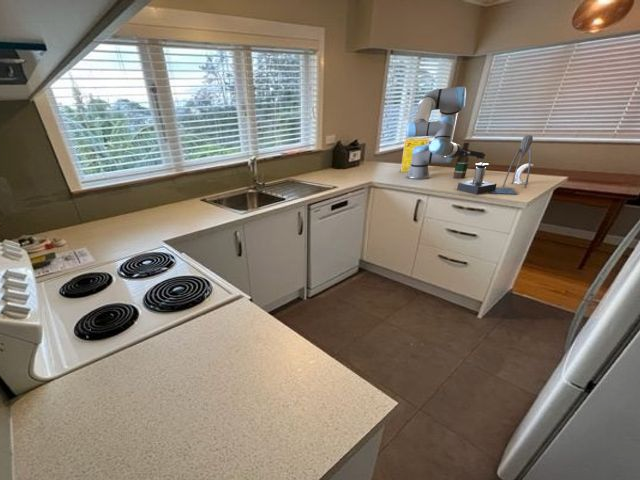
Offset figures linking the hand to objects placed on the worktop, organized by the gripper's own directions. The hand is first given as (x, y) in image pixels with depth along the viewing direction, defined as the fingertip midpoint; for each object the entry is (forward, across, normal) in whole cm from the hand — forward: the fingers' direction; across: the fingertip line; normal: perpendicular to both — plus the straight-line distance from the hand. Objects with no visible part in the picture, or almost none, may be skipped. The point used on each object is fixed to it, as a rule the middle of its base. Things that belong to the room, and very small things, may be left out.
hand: (471, 155), depth 177 cm
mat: (+18, +14, -17) cm, 29 cm away
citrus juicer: (+33, +12, -13) cm, 38 cm away
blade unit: (+11, +4, -19) cm, 22 cm away
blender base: (+11, +4, -19) cm, 22 cm away
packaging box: (+39, -64, -13) cm, 76 cm away
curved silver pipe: (+43, +12, -11) cm, 46 cm away
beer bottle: (+36, -23, -13) cm, 45 cm away
